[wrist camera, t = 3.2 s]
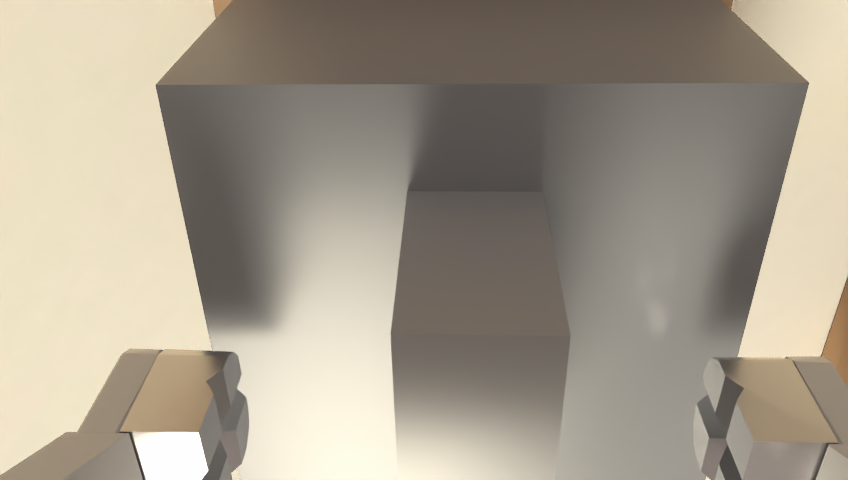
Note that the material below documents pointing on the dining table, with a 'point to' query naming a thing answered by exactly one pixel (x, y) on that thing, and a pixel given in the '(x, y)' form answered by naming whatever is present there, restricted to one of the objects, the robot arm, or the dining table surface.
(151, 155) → the dining table surface
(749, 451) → the robot arm
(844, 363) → the open brown box
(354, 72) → the housing
